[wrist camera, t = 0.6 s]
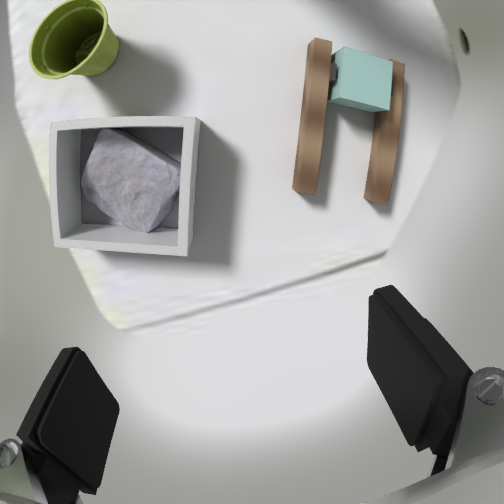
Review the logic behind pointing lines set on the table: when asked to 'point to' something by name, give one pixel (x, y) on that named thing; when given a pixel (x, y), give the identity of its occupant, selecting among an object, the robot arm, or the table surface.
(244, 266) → the table surface
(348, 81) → the block
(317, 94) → the wooden rail pair
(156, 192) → the stone block
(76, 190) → the holder
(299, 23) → the table surface
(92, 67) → the plant pot
